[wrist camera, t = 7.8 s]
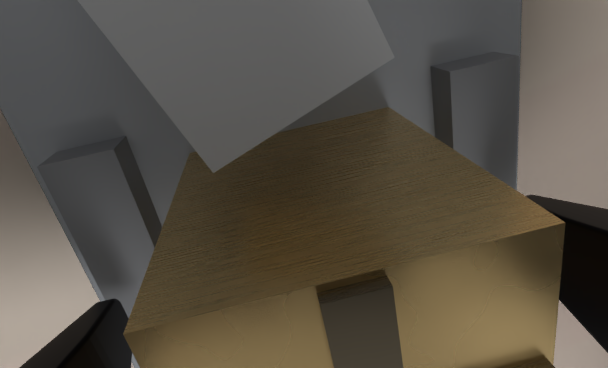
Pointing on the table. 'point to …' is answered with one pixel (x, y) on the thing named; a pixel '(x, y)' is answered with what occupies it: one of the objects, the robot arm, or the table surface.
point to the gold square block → (349, 258)
